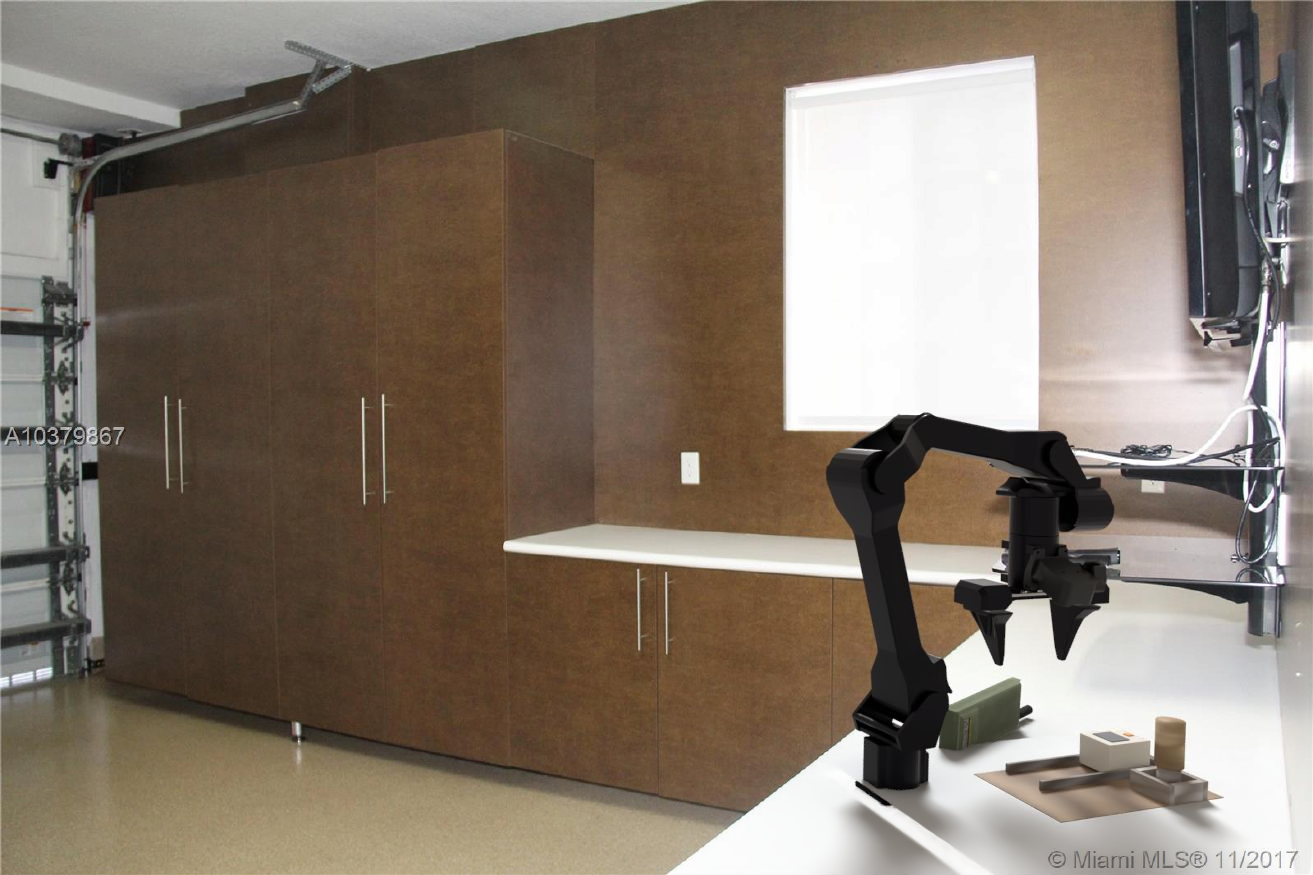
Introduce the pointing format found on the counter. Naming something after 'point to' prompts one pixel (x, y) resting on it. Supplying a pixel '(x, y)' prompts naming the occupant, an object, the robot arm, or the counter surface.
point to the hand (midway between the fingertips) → (1030, 662)
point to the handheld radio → (983, 716)
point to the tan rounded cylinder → (1169, 748)
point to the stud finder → (1113, 750)
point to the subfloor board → (1093, 788)
